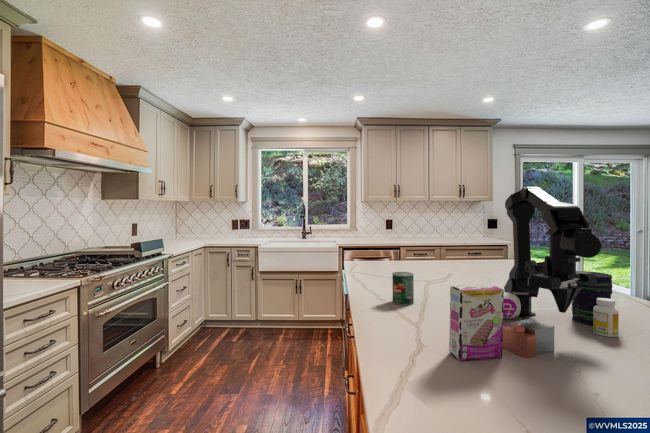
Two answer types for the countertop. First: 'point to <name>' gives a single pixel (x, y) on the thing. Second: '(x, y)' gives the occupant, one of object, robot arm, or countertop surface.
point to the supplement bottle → (605, 318)
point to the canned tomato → (403, 288)
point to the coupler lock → (540, 334)
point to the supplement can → (511, 305)
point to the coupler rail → (519, 340)
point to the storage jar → (590, 297)
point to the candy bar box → (476, 322)
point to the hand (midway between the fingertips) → (562, 312)
